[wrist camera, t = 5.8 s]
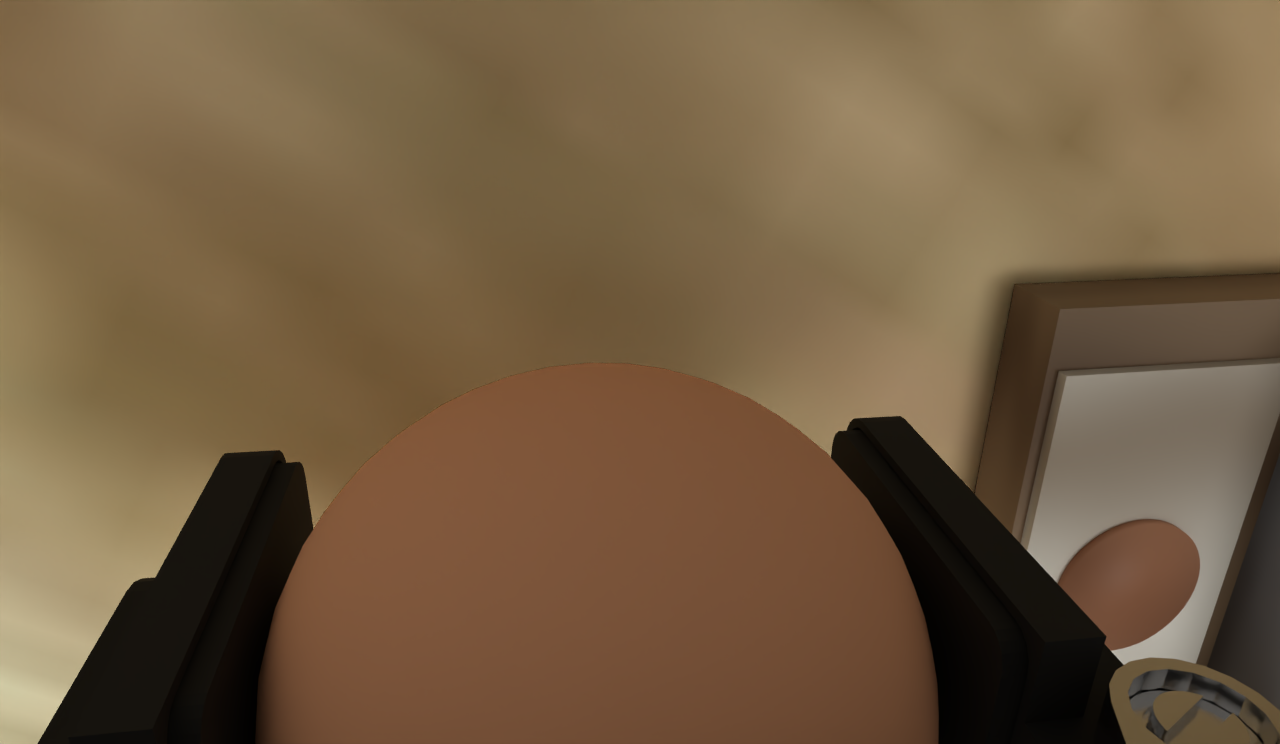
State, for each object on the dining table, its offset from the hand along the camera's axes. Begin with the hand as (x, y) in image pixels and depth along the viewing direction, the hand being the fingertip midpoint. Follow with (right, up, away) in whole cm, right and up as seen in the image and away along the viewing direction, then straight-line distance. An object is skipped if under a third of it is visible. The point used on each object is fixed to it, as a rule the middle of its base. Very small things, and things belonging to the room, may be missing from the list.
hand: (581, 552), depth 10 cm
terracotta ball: (0, -1, -2) cm, 2 cm away
